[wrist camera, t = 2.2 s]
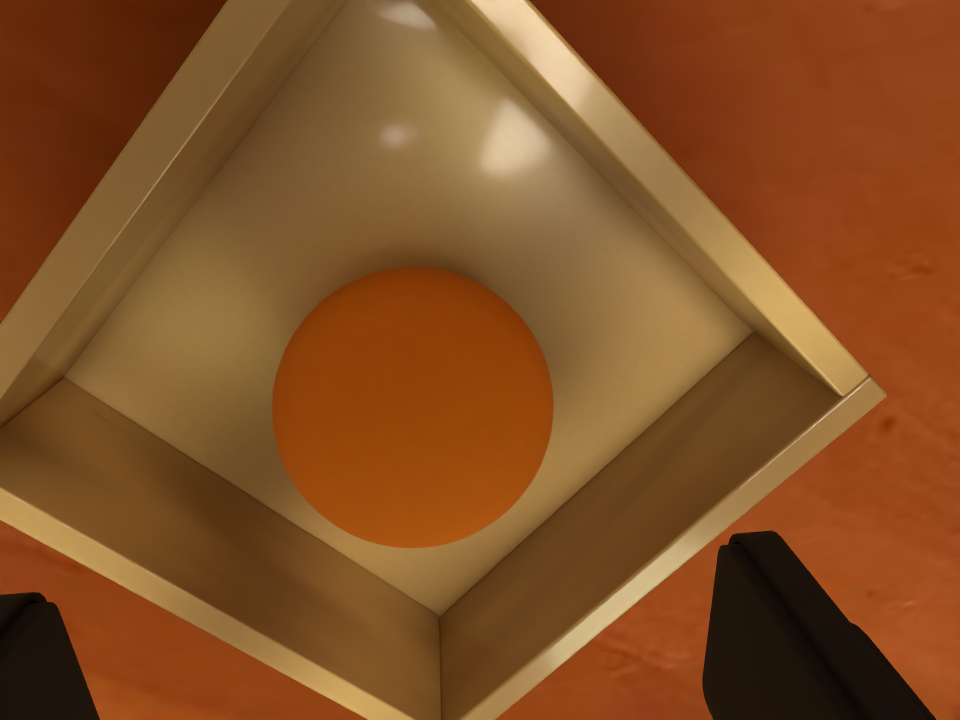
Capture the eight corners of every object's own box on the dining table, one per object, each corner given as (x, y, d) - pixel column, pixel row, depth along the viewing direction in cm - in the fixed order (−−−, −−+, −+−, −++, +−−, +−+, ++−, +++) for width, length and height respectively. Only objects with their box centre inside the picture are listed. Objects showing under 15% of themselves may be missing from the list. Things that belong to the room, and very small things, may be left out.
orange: (253, 364, 18) (166, 501, 12) (404, 187, 17) (389, 244, 11) (429, 489, 20) (429, 660, 14) (578, 343, 19) (649, 464, 13)
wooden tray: (34, 370, 18) (-101, 466, 14) (380, -101, 15) (358, -190, 10) (441, 627, 23) (444, 762, 19) (779, 322, 20) (890, 395, 15)
